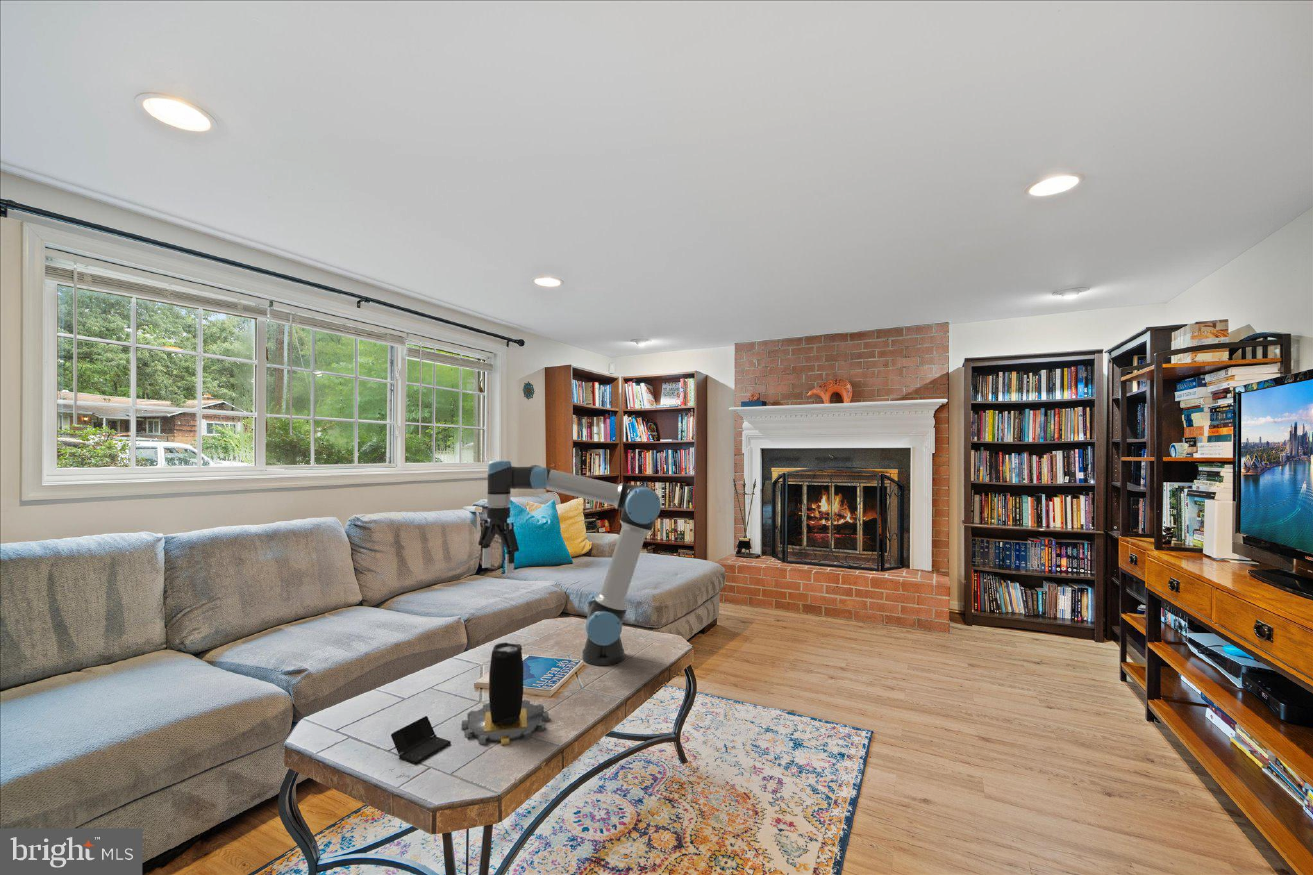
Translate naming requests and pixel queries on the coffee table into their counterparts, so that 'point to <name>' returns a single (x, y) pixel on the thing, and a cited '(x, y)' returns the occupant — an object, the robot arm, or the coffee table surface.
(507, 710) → the portable speaker
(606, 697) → the coffee table surface
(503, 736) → the sprocket plate
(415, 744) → the handheld gaming console
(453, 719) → the coffee table surface
